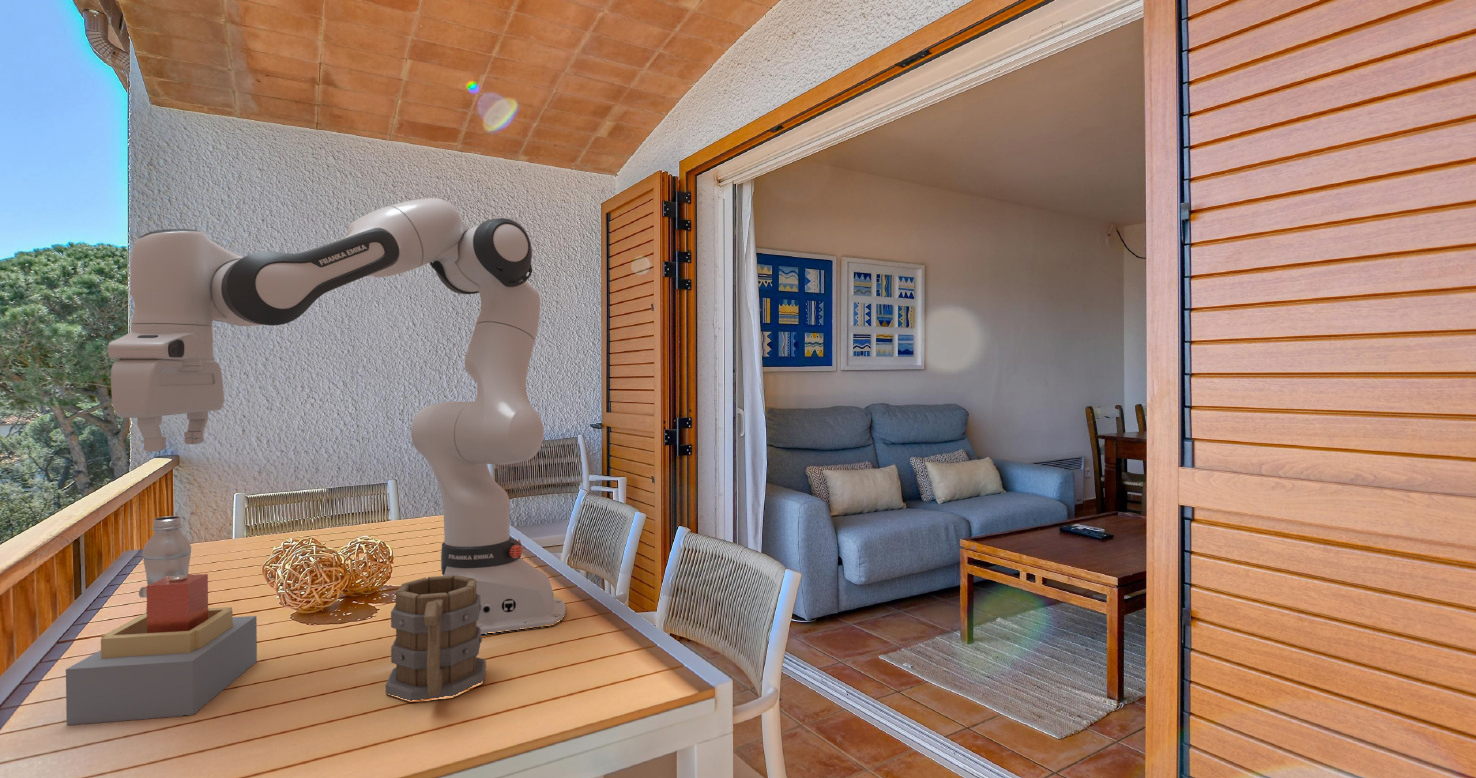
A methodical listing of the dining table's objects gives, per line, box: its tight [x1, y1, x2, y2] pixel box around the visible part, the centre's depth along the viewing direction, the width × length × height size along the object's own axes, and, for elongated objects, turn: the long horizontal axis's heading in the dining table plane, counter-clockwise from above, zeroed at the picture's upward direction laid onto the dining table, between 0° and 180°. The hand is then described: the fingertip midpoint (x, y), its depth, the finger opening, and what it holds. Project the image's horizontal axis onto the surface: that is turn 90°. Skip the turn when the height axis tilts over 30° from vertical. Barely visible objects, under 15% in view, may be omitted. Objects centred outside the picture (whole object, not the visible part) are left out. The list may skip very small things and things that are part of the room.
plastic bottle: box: [141, 515, 192, 614], centre depth 121 cm, size 6×7×20 cm
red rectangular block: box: [138, 573, 209, 633], centre depth 101 cm, size 7×5×8 cm
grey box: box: [65, 606, 258, 726], centre depth 102 cm, size 14×20×10 cm
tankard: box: [385, 575, 487, 701], centre depth 100 cm, size 20×13×15 cm, turn 16°
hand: (175, 447), depth 101 cm, fingers open, 8 cm apart
